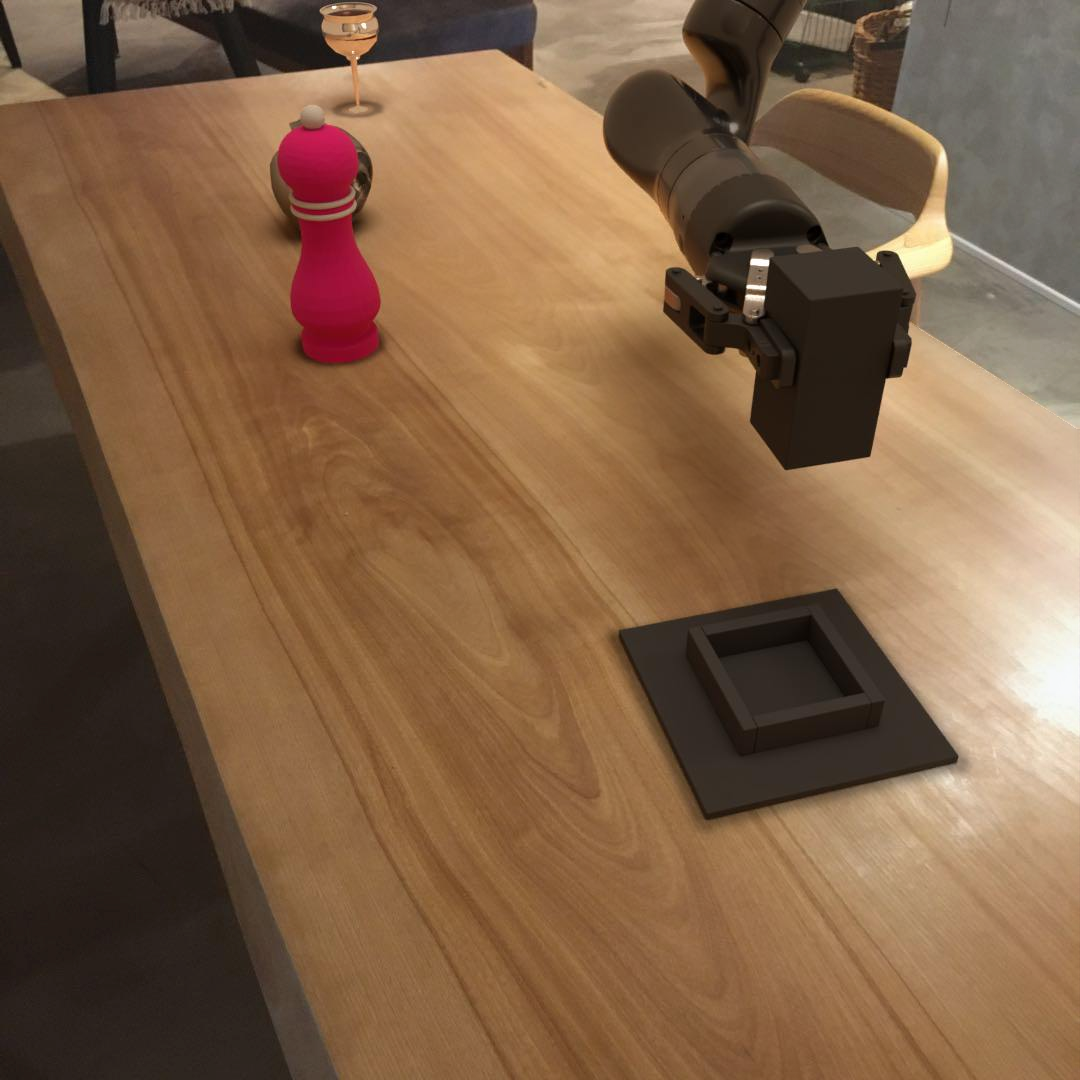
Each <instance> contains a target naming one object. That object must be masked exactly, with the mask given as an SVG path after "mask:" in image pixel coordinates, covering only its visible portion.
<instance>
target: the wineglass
mask: <svg viewBox="0 0 1080 1080" xmlns="http://www.w3.org/2000/svg"><path fill="white" fill-rule="evenodd" d="M377 9H378V7H377V6H376V5H374V4H372V3H367V2H357V1H347V2H337V3H332V4H328V5H325V6H323V7H321V8H320V9H319V13H320V15H321V16H322V18H323V19H322V22H321V27H320V29H321V34H322V37H323V40H324V41H325V43H326V44H327V45H328V47H330V48H331V49H332V50H333V51H334V52H335V53H337V54H339V55H342V56H344V57H345V58H346V59H347V60H348V61H349V63H350V69H351V75H352V77H351V78H352V83H353V89H354V96H355V104H356V106H353V107H350V108H349V109H348V112H350V113H355V114H356V113H364V112H367V111H368V110H369V107H367V106H362V105H360V89H359V88H360V87H359V73H358V71H359V70H358V60H360V58H361V56H362V55H364V54H366V53H367V52H369V51H370V50H371V49H372V48H373V46H374V45H375V43H377V42H378V38H379V34H380V23H379V20H378V19H377V18H376V15H375V14H376V12H377Z"/></svg>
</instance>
